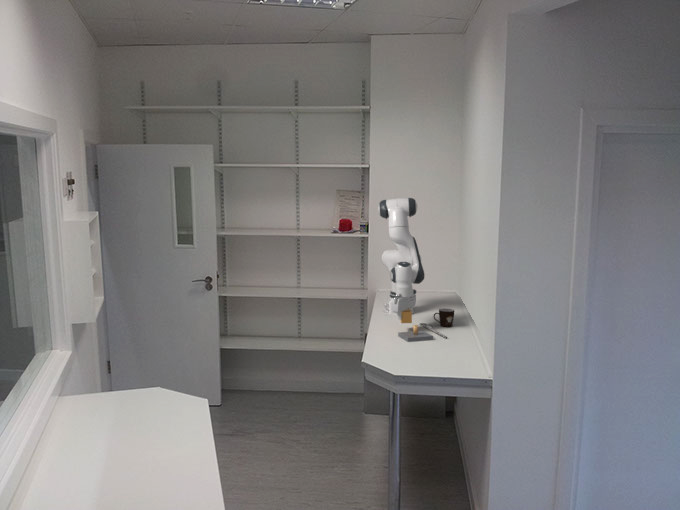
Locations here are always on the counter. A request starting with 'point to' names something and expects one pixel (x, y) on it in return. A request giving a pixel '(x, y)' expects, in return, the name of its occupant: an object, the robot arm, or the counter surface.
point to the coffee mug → (445, 317)
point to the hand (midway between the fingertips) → (404, 317)
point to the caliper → (432, 329)
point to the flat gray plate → (415, 335)
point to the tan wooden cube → (406, 316)
